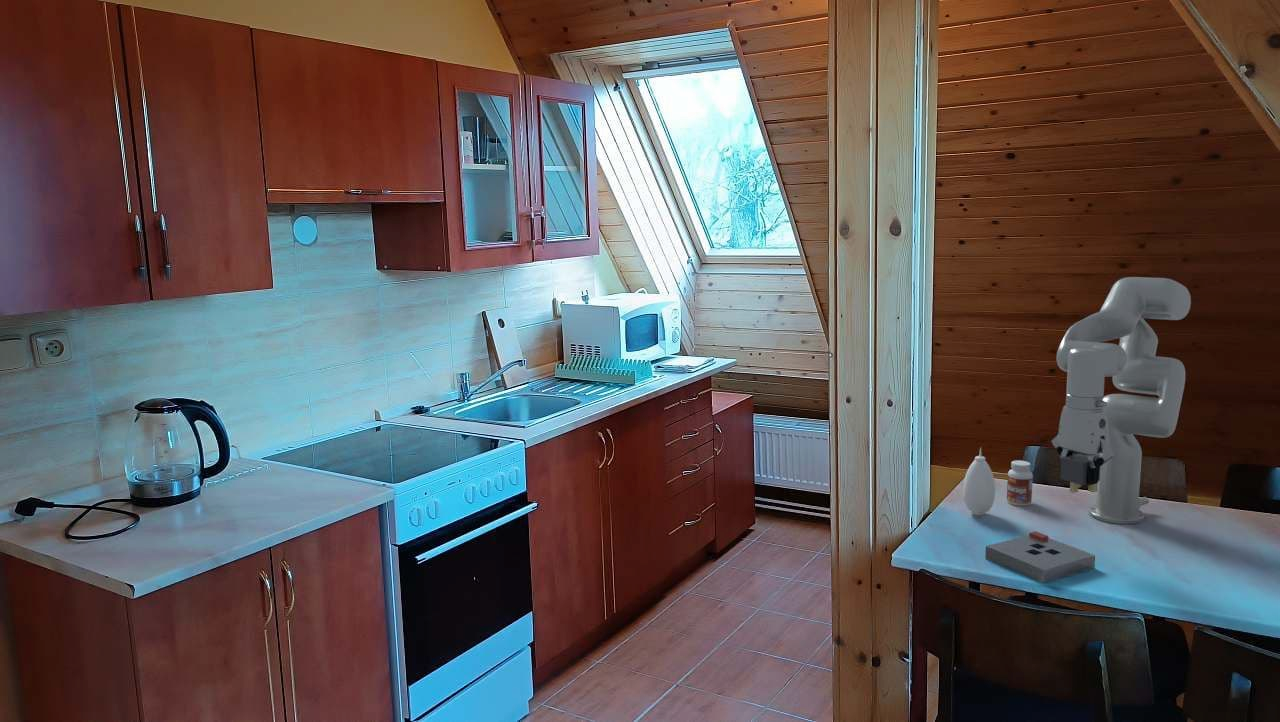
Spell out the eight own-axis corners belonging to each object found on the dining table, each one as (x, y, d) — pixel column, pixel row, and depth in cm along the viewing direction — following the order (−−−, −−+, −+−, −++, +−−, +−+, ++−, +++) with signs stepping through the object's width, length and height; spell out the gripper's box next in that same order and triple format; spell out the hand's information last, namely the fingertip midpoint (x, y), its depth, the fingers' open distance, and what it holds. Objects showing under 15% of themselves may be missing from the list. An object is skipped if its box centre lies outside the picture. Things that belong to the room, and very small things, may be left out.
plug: (1077, 484, 215) (1079, 453, 213) (1099, 491, 210) (1100, 459, 209) (1059, 489, 212) (1061, 457, 211) (1081, 495, 207) (1082, 463, 206)
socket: (1034, 545, 219) (1035, 529, 218) (1094, 568, 205) (1095, 551, 204) (985, 558, 212) (985, 542, 211) (1043, 583, 198) (1044, 566, 197)
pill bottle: (1003, 503, 248) (1004, 463, 246) (1010, 497, 253) (1012, 458, 251) (1027, 508, 244) (1029, 467, 242) (1034, 501, 249) (1036, 461, 247)
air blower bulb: (961, 508, 245) (963, 442, 242) (992, 510, 243) (995, 443, 240) (963, 518, 238) (965, 450, 235) (995, 520, 236) (998, 451, 233)
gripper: (1130, 407, 202) (1125, 487, 205) (1062, 393, 217) (1058, 468, 220) (1107, 411, 198) (1102, 493, 201) (1040, 397, 213) (1036, 473, 216)
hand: (1079, 479), depth 211 cm, fingers closed on plug, 5 cm apart
